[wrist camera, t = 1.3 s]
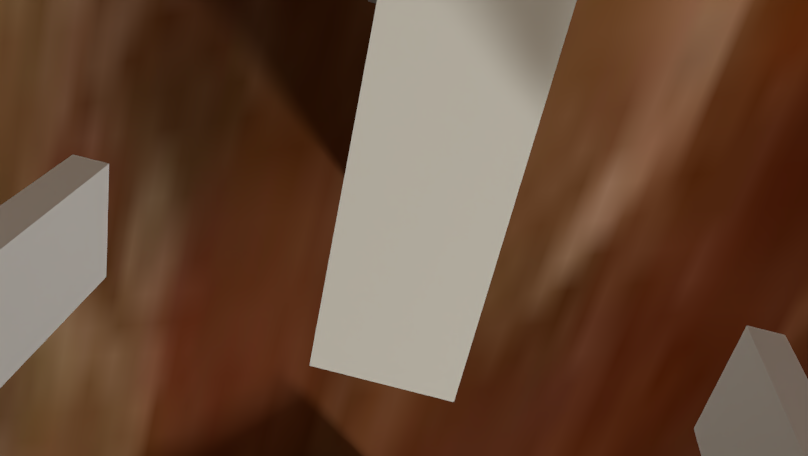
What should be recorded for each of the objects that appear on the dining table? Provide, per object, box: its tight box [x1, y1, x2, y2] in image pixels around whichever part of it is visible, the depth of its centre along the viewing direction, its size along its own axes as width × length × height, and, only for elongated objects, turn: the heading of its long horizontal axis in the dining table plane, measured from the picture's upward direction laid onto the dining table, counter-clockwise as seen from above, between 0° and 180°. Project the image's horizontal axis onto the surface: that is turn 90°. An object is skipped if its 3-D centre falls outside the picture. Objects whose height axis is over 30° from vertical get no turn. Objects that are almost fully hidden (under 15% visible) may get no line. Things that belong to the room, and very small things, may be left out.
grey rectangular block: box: [309, 0, 577, 402], centre depth 25 cm, size 5×13×11 cm, turn 169°
